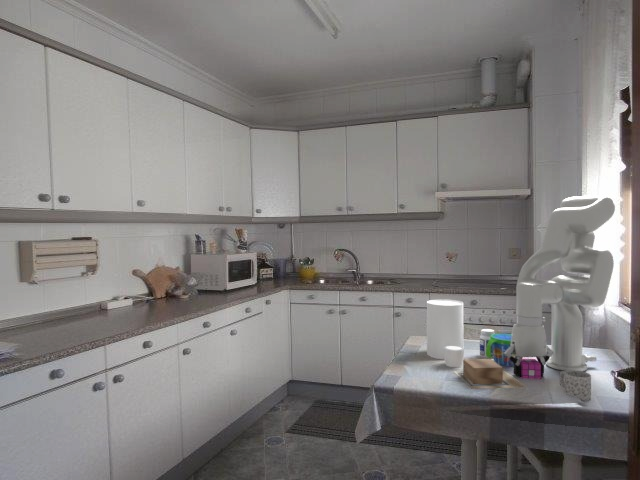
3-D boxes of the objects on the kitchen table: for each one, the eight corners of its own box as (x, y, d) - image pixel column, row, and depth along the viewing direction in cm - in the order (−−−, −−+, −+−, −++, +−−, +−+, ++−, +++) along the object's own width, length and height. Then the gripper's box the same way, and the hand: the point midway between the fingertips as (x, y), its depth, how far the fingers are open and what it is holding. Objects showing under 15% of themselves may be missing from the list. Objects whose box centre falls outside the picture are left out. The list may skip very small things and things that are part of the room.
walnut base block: (490, 373, 149) (490, 358, 148) (502, 383, 140) (502, 367, 139) (463, 374, 148) (463, 359, 148) (473, 384, 139) (473, 368, 139)
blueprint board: (503, 372, 152) (503, 369, 152) (527, 390, 136) (527, 386, 136) (453, 374, 152) (453, 370, 152) (471, 391, 136) (471, 387, 136)
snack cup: (516, 359, 167) (516, 331, 167) (535, 368, 157) (535, 338, 157) (477, 362, 164) (477, 334, 164) (495, 371, 154) (495, 341, 153)
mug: (596, 400, 129) (596, 376, 128) (576, 402, 127) (576, 378, 127) (570, 387, 138) (570, 366, 138) (551, 389, 137) (551, 367, 137)
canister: (463, 360, 166) (463, 306, 166) (425, 358, 170) (425, 304, 169) (463, 350, 179) (463, 300, 179) (427, 348, 183) (427, 298, 182)
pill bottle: (497, 355, 172) (497, 329, 172) (494, 359, 168) (494, 332, 167) (481, 353, 175) (481, 327, 175) (478, 357, 171) (478, 330, 170)
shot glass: (465, 371, 155) (465, 350, 154) (444, 370, 156) (444, 349, 156) (463, 365, 161) (463, 345, 161) (443, 364, 163) (443, 344, 163)
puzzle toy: (535, 376, 149) (535, 358, 149) (541, 382, 143) (541, 364, 143) (516, 375, 150) (516, 358, 150) (522, 381, 144) (522, 363, 144)
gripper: (549, 318, 150) (548, 371, 151) (497, 319, 149) (497, 373, 150) (562, 323, 143) (561, 379, 143) (507, 324, 142) (507, 381, 142)
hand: (528, 375), depth 147 cm, fingers closed on puzzle toy, 6 cm apart
